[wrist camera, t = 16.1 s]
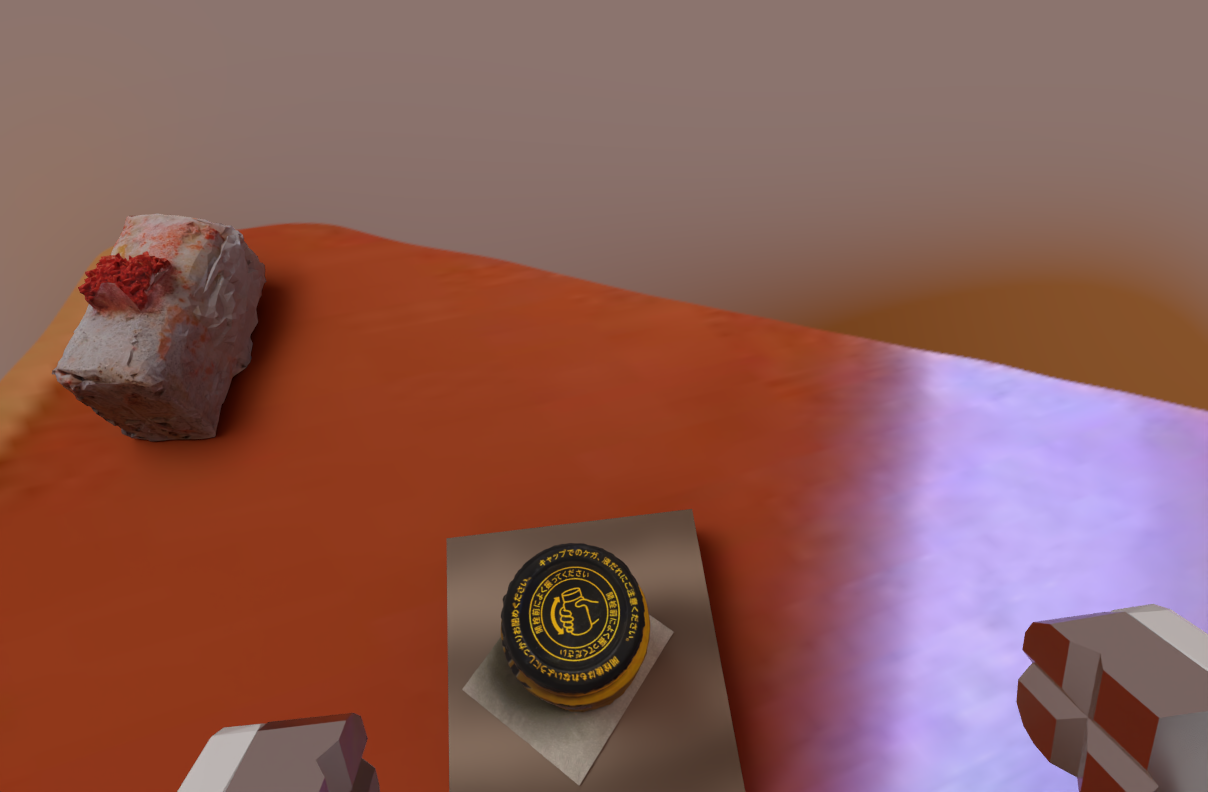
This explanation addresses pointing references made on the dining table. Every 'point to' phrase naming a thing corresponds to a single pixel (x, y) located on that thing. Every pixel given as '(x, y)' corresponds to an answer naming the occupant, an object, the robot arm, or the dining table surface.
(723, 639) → the dining table surface
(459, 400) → the dining table surface
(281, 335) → the dining table surface
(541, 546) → the base
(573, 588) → the condiment
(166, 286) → the food item
